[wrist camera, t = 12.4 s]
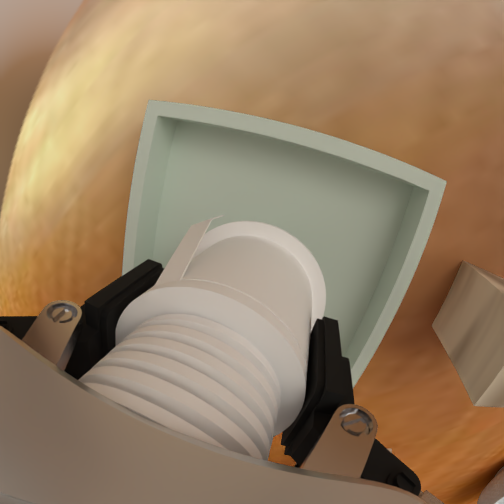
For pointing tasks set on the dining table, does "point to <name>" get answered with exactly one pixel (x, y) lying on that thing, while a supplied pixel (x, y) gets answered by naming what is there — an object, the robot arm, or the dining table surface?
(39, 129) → the dining table surface
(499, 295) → the maple block
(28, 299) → the dining table surface
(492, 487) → the cereal bowl
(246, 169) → the tray
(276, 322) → the downlight
